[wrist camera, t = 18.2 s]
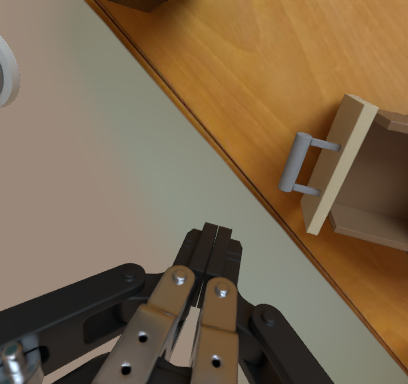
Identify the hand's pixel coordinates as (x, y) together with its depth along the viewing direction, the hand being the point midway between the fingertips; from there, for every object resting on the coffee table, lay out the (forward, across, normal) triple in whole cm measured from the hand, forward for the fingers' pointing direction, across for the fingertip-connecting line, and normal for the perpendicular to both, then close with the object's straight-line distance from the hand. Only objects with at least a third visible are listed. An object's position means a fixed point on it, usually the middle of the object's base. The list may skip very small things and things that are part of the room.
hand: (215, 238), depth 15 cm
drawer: (+21, -14, 0) cm, 25 cm away
